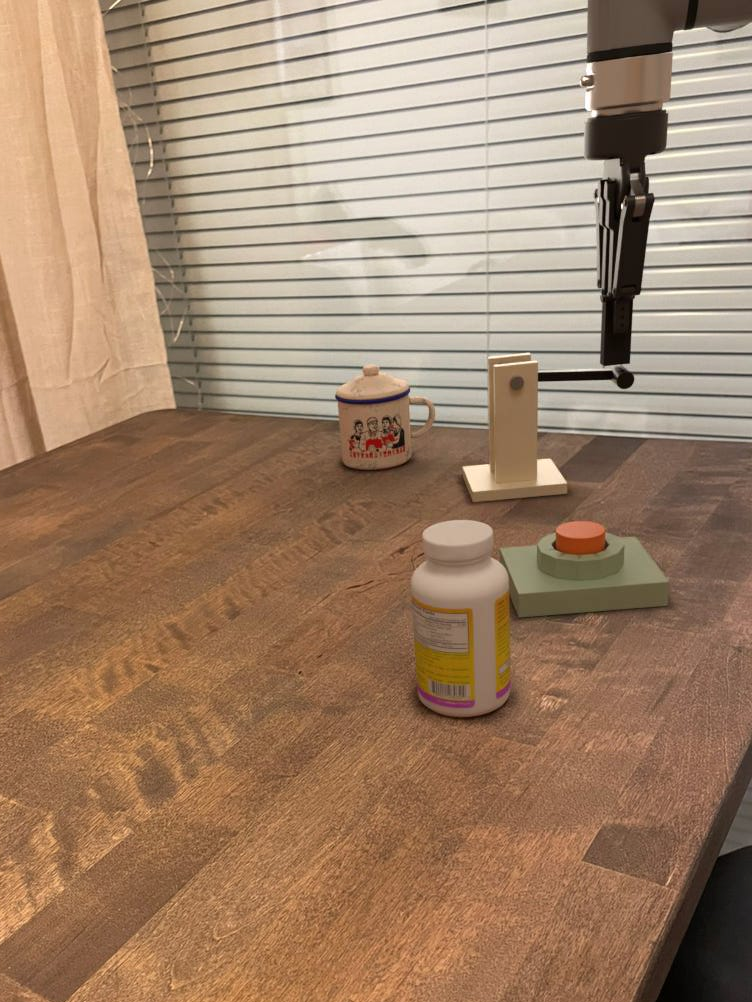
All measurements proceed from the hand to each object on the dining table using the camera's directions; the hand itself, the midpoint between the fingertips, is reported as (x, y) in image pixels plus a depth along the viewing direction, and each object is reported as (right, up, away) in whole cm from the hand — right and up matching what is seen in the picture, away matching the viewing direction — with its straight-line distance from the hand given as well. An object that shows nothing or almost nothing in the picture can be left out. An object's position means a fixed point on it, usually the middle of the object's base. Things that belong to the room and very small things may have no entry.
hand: (614, 363), depth 105 cm
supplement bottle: (-22, -33, -32) cm, 51 cm away
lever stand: (-9, -12, +6) cm, 16 cm away
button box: (-9, -24, -18) cm, 32 cm away
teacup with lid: (-21, -7, +20) cm, 30 cm away
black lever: (-5, -2, +1) cm, 6 cm away
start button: (-10, -21, -20) cm, 31 cm away
